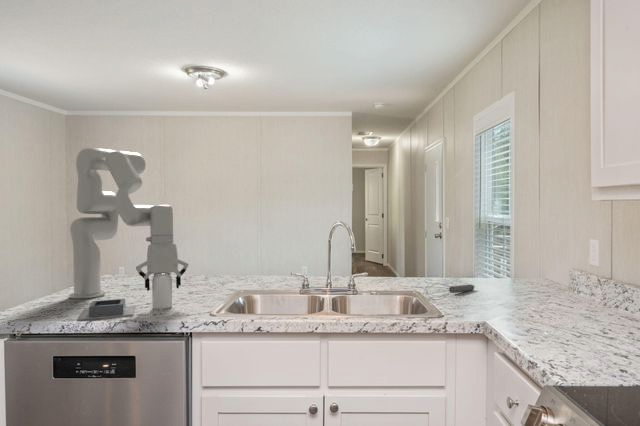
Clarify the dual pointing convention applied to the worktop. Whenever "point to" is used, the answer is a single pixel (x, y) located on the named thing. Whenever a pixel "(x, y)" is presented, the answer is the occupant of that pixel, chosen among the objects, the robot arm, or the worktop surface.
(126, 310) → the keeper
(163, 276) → the can
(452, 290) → the kitchen whisk
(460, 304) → the worktop surface
